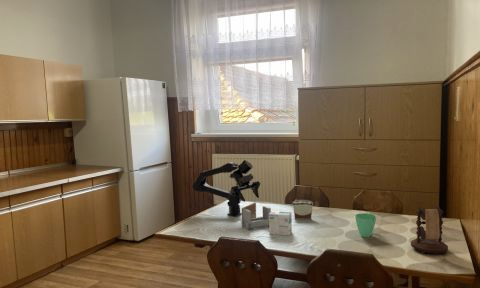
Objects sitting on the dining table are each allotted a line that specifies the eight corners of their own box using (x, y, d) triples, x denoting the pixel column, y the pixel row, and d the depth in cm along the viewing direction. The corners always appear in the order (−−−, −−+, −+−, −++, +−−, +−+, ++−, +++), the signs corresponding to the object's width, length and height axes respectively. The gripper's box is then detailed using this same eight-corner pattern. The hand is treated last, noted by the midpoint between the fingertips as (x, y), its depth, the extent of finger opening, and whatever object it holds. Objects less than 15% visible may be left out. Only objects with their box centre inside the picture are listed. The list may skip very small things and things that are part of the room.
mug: (373, 240, 181) (374, 219, 180) (353, 237, 186) (353, 217, 185) (379, 231, 193) (379, 212, 192) (359, 228, 198) (359, 210, 197)
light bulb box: (292, 231, 196) (291, 211, 195) (289, 235, 190) (289, 215, 189) (272, 230, 199) (271, 210, 198) (268, 234, 193) (268, 213, 192)
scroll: (420, 256, 160) (421, 210, 158) (405, 244, 174) (405, 202, 173) (455, 255, 160) (456, 209, 158) (436, 243, 174) (437, 201, 173)
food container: (312, 216, 223) (312, 199, 222) (313, 219, 217) (313, 202, 216) (291, 216, 224) (291, 199, 223) (292, 219, 218) (292, 202, 217)
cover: (241, 226, 206) (241, 208, 205) (254, 219, 218) (254, 202, 217) (243, 226, 206) (243, 208, 205) (256, 219, 217) (255, 202, 216)
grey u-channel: (241, 227, 205) (241, 209, 204) (266, 222, 212) (266, 205, 211) (247, 230, 200) (246, 212, 199) (272, 225, 207) (272, 207, 206)
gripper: (229, 173, 215) (241, 194, 207) (256, 167, 224) (269, 187, 215) (225, 185, 223) (236, 206, 214) (251, 179, 232) (263, 199, 223)
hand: (251, 199), depth 216 cm, fingers open, 9 cm apart
